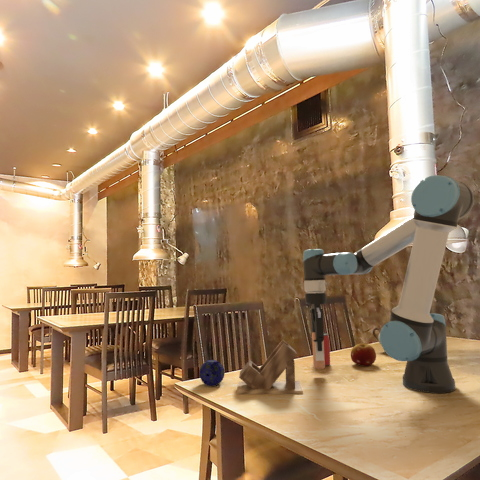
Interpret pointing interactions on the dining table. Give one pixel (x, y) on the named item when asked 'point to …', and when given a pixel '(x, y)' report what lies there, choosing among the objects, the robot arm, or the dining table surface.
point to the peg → (315, 363)
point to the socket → (271, 374)
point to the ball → (211, 372)
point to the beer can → (326, 349)
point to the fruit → (363, 354)
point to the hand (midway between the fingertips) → (318, 358)
